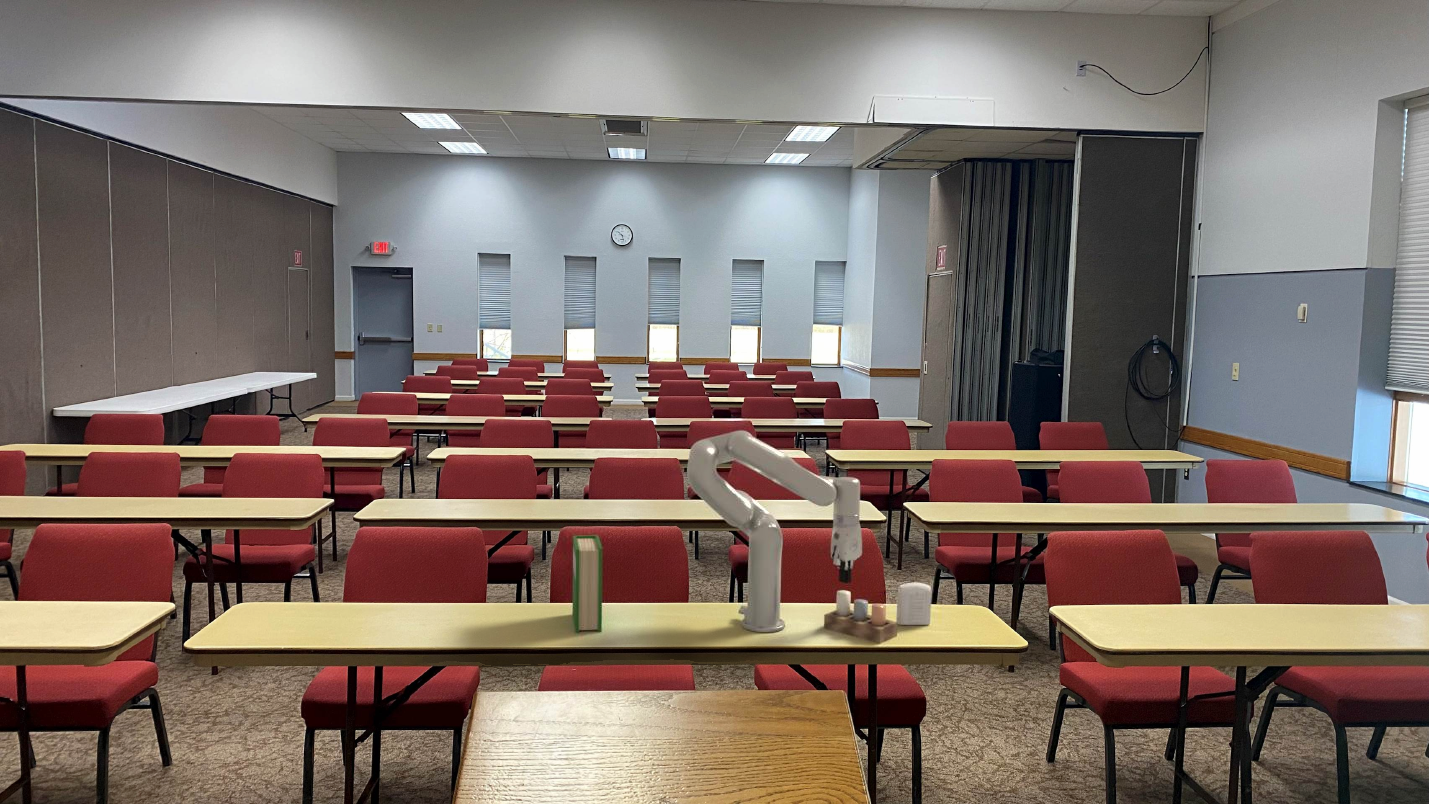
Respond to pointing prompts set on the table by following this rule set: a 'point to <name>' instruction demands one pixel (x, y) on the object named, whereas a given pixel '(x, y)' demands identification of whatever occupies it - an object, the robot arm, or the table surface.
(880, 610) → the salmon orange cylinder
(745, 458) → the robot arm
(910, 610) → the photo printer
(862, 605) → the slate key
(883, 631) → the wooden peg holder
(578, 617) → the hardback book
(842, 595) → the white peg
